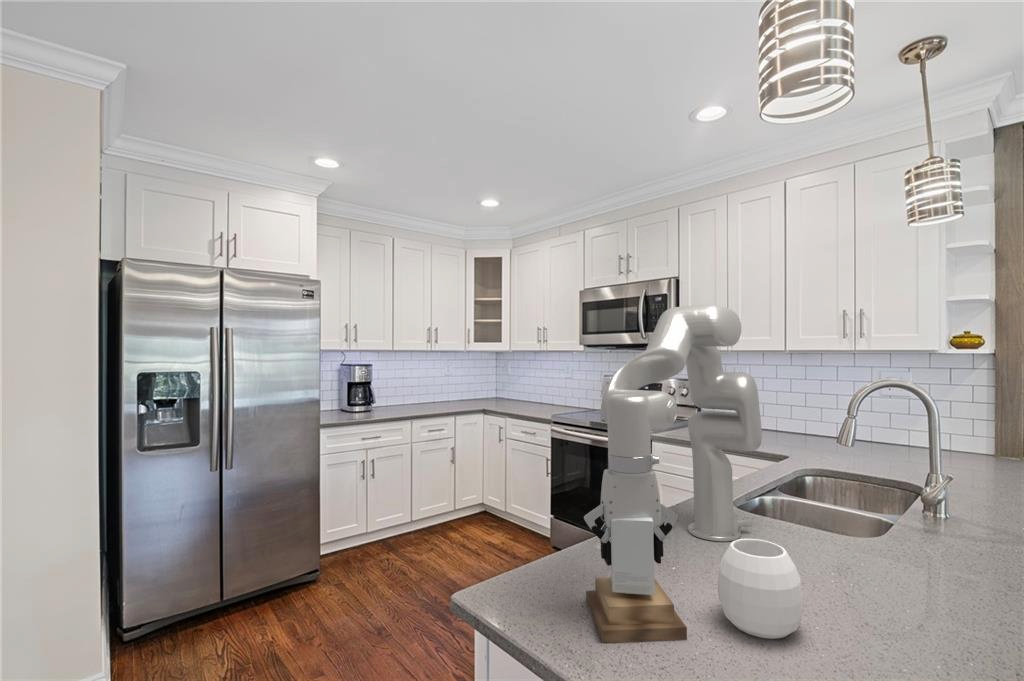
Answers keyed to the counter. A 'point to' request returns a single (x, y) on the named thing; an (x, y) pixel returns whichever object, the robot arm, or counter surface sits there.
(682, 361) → the robot arm
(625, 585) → the supplement box
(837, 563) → the counter surface
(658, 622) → the plinth
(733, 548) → the white vase
